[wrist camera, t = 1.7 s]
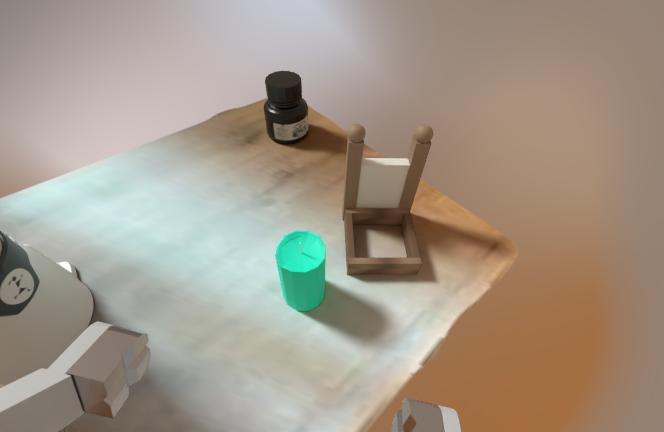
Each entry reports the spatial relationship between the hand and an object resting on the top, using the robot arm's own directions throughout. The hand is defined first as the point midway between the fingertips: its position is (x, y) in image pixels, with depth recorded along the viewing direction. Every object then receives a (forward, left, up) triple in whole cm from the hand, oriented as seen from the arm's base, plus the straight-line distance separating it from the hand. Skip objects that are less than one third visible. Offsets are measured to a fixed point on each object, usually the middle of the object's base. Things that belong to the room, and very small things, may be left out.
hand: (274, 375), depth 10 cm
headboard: (+10, +33, -31) cm, 47 cm away
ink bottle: (-6, +57, -32) cm, 65 cm away
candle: (-1, +19, -32) cm, 37 cm away
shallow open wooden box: (+10, +27, -31) cm, 43 cm away
